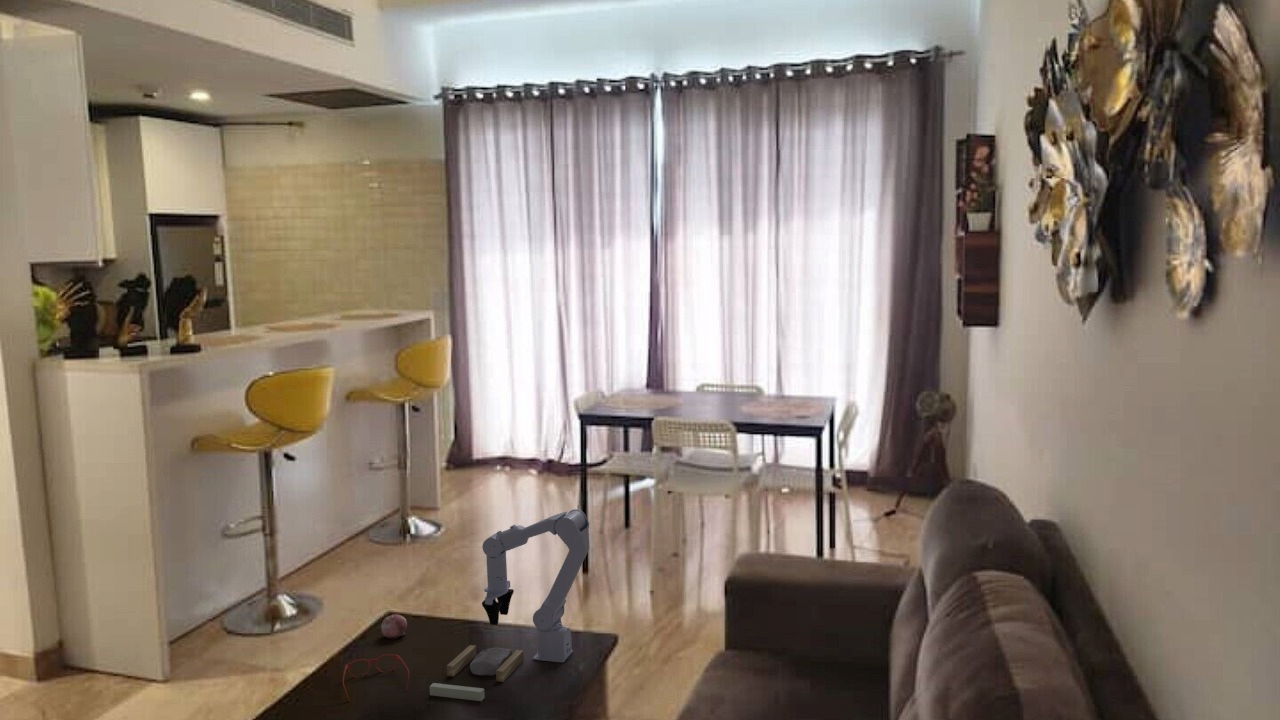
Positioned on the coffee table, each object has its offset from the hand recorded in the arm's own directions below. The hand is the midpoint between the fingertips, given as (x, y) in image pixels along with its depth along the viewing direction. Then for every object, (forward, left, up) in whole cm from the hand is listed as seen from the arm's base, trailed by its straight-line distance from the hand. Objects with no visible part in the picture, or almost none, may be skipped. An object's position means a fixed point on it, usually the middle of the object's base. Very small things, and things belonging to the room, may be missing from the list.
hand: (499, 619), depth 273 cm
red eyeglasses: (+25, +28, -10) cm, 38 cm away
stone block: (-2, +10, -10) cm, 14 cm away
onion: (+37, -3, -10) cm, 38 cm away
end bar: (-1, +29, -10) cm, 31 cm away
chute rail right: (-9, +12, -10) cm, 17 cm away
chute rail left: (+6, +12, -10) cm, 16 cm away
